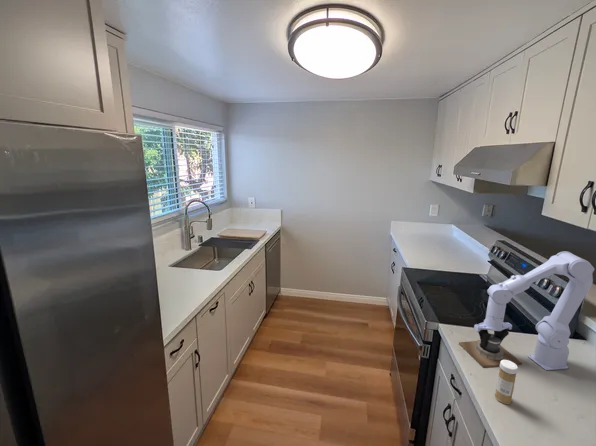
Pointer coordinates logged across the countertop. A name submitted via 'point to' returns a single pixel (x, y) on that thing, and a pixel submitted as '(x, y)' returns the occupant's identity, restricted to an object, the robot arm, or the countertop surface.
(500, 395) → the sprinkles bottle
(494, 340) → the lens
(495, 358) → the mount board
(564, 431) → the countertop surface
